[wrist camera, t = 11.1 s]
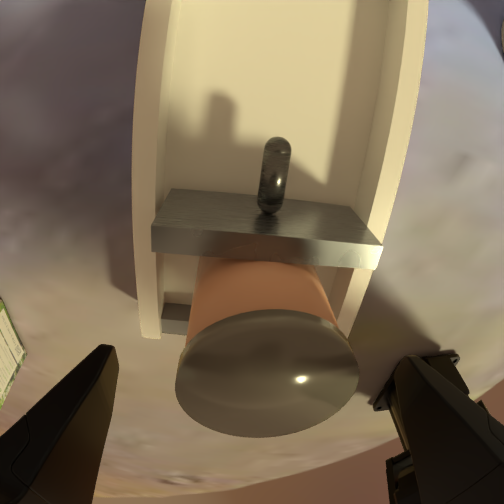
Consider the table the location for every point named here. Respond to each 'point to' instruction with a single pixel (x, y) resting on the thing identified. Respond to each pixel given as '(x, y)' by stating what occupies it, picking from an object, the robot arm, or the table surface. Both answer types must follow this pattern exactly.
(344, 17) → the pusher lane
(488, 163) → the table surface
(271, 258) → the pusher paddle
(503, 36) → the beer glass
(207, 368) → the terracotta jar
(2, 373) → the syrup box
